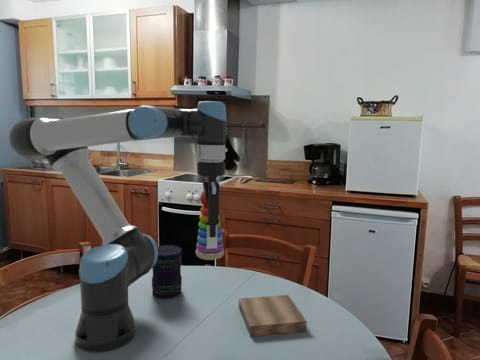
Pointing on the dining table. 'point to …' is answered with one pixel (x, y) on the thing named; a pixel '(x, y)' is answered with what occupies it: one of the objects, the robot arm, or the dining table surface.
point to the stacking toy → (202, 237)
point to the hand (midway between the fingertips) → (210, 242)
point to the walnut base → (271, 315)
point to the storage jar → (167, 272)
